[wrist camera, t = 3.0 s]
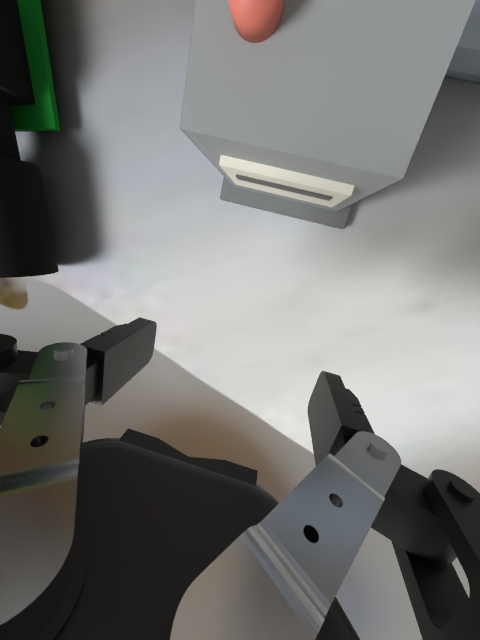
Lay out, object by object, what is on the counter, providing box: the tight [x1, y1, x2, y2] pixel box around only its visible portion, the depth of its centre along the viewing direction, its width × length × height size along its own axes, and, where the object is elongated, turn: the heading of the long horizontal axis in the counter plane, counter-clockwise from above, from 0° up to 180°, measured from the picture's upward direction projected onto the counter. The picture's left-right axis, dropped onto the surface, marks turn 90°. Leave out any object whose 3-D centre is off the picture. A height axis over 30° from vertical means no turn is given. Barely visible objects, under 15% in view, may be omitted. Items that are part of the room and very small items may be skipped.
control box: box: [180, 0, 475, 229], centre depth 13 cm, size 9×10×13 cm
